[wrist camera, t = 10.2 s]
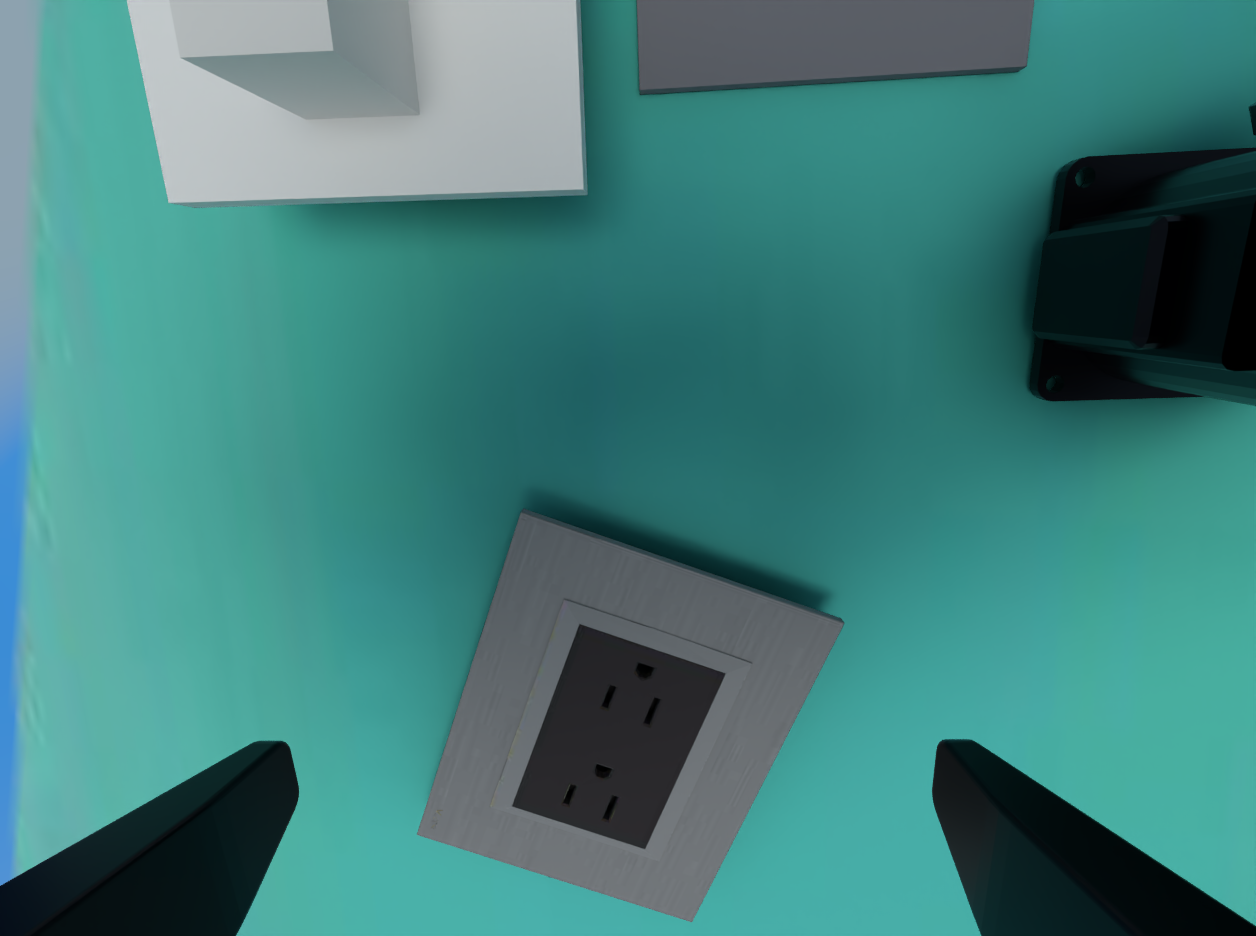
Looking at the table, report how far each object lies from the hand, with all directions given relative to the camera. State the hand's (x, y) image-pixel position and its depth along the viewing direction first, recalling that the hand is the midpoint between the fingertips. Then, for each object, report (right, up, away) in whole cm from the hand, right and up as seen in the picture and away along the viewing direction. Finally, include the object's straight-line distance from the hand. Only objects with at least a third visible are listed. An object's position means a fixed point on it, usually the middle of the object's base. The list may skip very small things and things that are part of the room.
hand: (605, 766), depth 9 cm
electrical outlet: (0, -4, +14) cm, 15 cm away
